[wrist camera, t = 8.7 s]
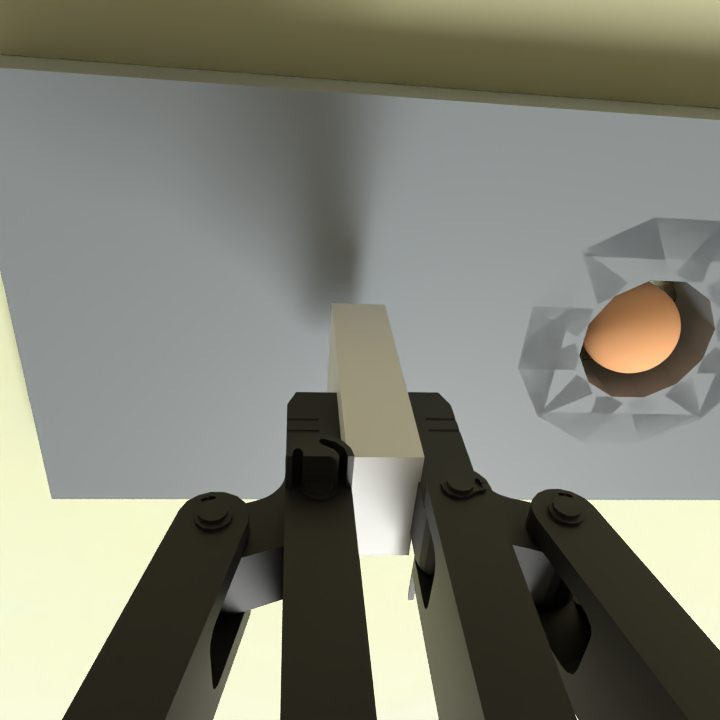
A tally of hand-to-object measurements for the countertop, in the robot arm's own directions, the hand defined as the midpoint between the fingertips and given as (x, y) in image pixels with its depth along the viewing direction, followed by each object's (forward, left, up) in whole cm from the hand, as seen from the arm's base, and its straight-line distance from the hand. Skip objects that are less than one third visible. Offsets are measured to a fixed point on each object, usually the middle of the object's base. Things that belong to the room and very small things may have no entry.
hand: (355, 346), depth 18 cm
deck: (0, +4, -4) cm, 6 cm away
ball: (0, +10, -3) cm, 10 cm away
